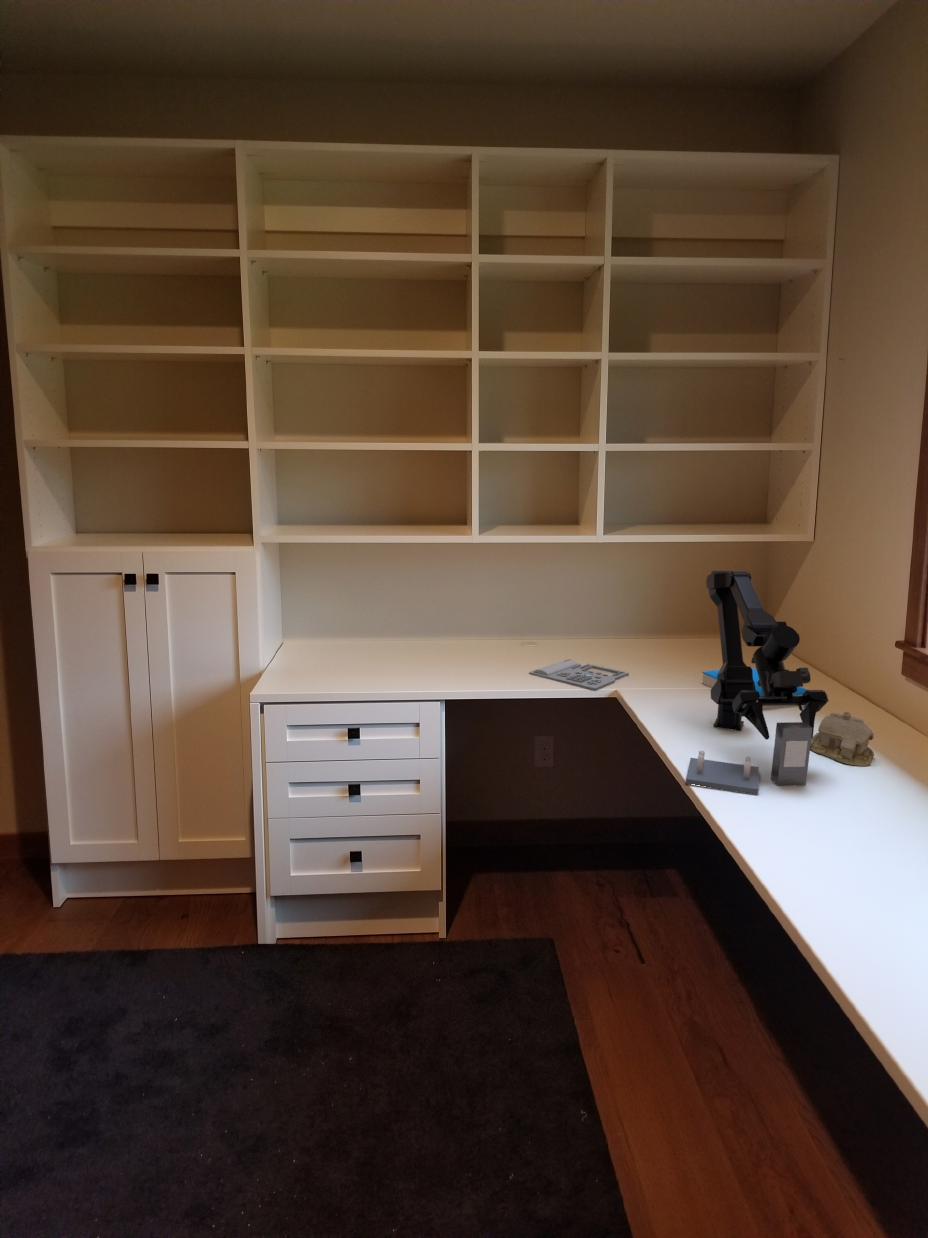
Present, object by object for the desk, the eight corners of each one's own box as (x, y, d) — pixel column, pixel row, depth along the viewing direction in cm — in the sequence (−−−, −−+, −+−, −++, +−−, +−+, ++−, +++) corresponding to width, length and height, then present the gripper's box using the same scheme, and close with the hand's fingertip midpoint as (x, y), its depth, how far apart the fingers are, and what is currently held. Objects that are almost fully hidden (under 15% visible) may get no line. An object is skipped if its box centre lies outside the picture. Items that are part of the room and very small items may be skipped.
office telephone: (528, 667, 245) (567, 654, 259) (528, 676, 245) (567, 662, 260) (595, 683, 229) (633, 668, 244) (594, 692, 230) (632, 677, 245)
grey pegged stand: (690, 762, 182) (691, 742, 180) (758, 772, 177) (760, 751, 176) (685, 784, 170) (687, 763, 169) (757, 795, 166) (760, 773, 165)
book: (763, 698, 215) (701, 670, 237) (761, 713, 216) (700, 684, 238) (814, 691, 221) (749, 664, 244) (812, 706, 222) (748, 678, 245)
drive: (770, 779, 174) (776, 722, 171) (798, 779, 174) (805, 722, 171) (777, 786, 170) (783, 728, 167) (806, 785, 171) (812, 728, 168)
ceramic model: (882, 756, 187) (888, 714, 185) (864, 770, 179) (870, 726, 177) (819, 740, 196) (824, 699, 194) (799, 752, 189) (804, 710, 186)
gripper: (742, 653, 173) (759, 722, 164) (829, 653, 174) (850, 721, 166) (724, 679, 182) (740, 745, 174) (807, 678, 183) (826, 744, 175)
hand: (789, 738), depth 172 cm, fingers open, 9 cm apart
